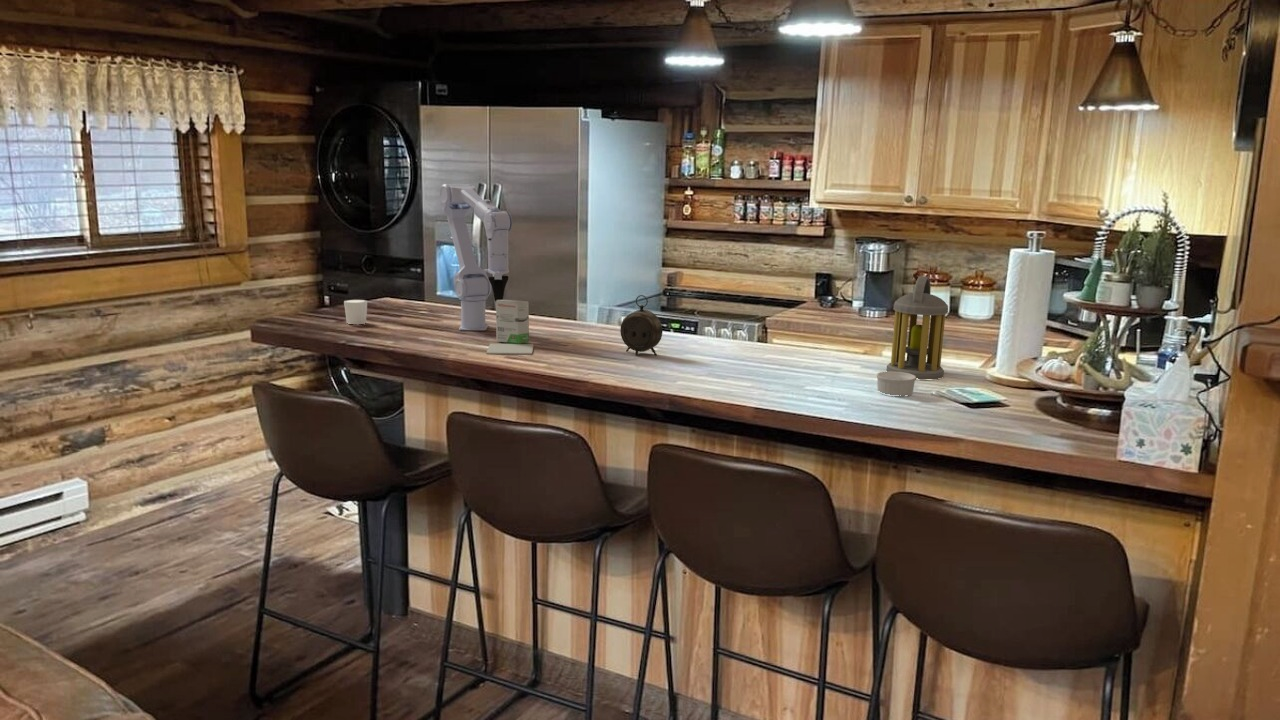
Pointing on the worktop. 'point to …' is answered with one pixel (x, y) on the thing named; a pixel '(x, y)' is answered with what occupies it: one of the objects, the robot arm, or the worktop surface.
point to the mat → (510, 349)
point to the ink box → (512, 321)
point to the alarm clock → (641, 330)
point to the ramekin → (896, 383)
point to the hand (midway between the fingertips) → (498, 301)
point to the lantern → (919, 333)
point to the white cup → (356, 311)
